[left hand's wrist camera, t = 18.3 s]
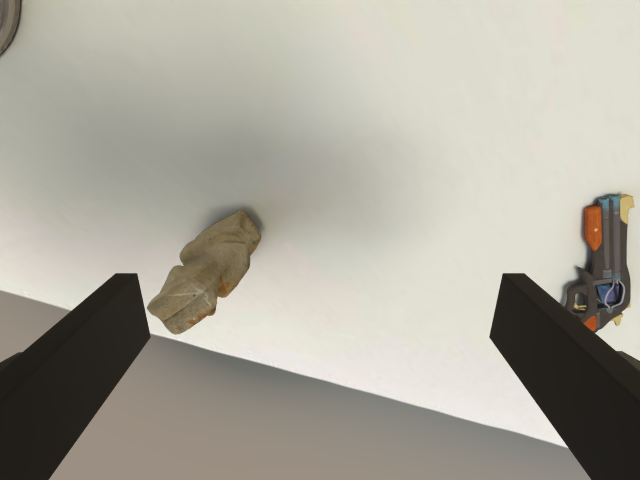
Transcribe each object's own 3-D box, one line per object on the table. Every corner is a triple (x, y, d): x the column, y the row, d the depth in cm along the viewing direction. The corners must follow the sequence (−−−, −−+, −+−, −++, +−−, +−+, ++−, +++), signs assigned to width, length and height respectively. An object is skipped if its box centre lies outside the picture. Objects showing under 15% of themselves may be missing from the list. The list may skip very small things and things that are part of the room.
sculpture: (191, 228, 40) (122, 297, 26) (243, 195, 39) (200, 250, 25) (223, 268, 42) (174, 352, 28) (273, 238, 40) (249, 311, 26)
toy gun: (546, 360, 44) (639, 350, 42) (535, 215, 38) (641, 194, 36) (536, 347, 46) (623, 336, 44) (525, 209, 41) (623, 189, 39)
